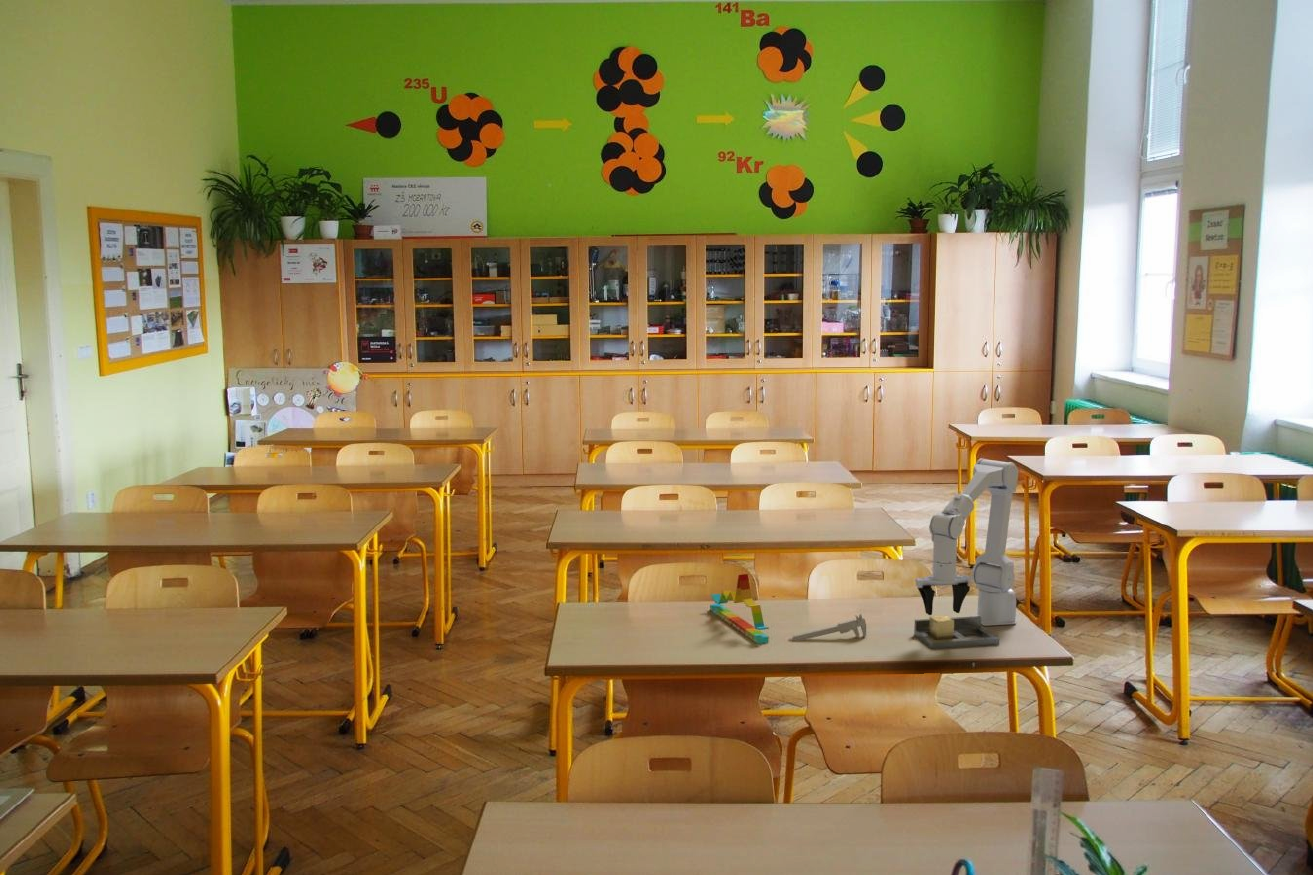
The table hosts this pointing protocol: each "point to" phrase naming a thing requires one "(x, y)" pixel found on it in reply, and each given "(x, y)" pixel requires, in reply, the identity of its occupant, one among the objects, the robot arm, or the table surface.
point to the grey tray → (957, 633)
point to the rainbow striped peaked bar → (747, 629)
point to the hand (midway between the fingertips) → (942, 612)
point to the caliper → (835, 629)
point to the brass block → (941, 627)
